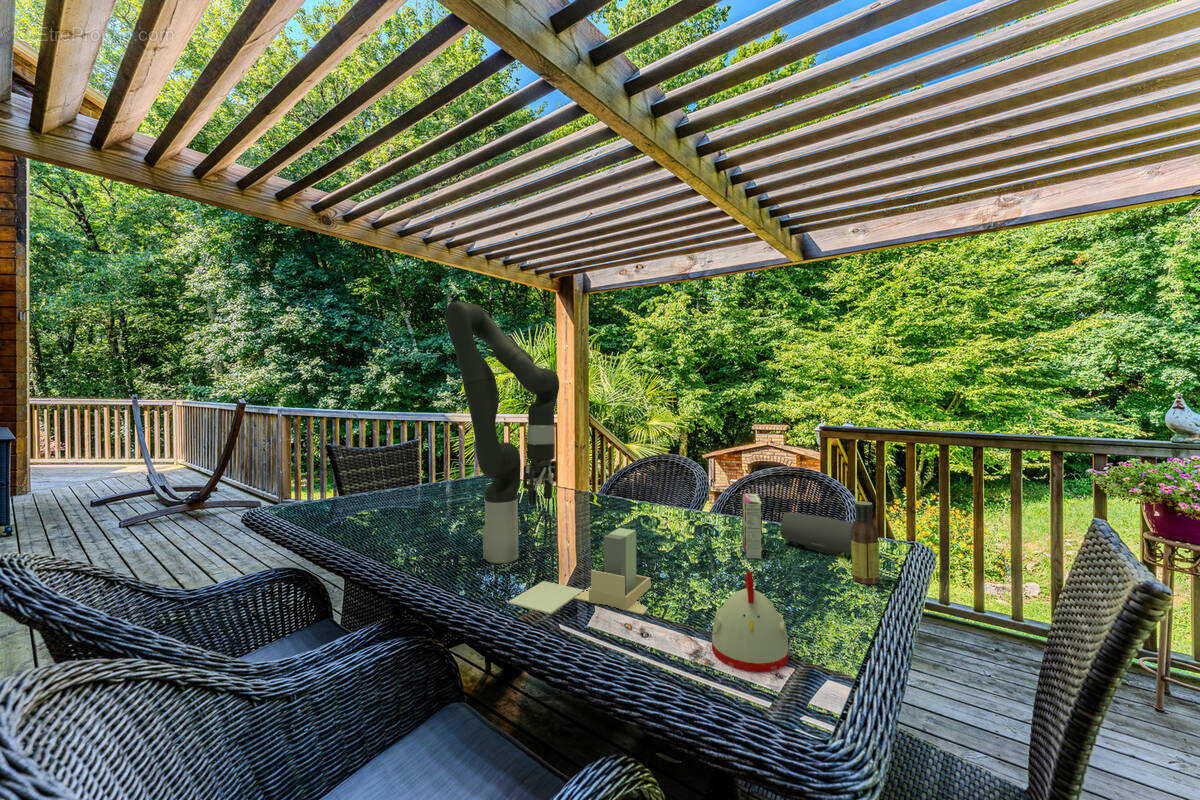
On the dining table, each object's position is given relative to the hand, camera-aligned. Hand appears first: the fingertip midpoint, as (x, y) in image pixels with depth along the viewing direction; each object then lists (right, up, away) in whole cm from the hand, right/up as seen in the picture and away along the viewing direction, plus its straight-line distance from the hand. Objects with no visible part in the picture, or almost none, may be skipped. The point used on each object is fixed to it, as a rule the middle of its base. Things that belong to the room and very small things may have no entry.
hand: (540, 501), depth 143 cm
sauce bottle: (+83, -18, -10) cm, 85 cm away
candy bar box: (+61, -18, +11) cm, 64 cm away
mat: (+4, -19, -18) cm, 27 cm away
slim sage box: (+21, -19, -18) cm, 34 cm away
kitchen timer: (+44, -20, -44) cm, 66 cm away
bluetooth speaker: (+82, -17, +13) cm, 85 cm away
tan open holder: (+22, -19, -16) cm, 33 cm away
